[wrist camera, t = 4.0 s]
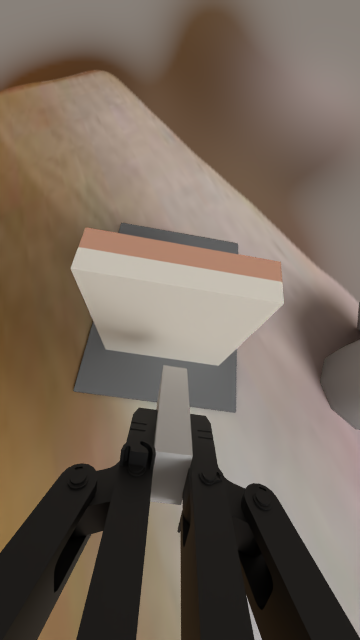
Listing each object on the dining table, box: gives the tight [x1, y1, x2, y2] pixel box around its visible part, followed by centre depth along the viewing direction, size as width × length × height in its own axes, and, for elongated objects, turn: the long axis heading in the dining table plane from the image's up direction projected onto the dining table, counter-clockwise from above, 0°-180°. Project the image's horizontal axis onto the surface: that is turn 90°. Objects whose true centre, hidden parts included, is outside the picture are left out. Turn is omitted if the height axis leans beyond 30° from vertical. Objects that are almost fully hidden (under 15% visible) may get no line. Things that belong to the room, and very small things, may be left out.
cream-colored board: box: [71, 227, 284, 366], centre depth 21 cm, size 3×12×14 cm, turn 84°
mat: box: [73, 223, 238, 413], centre depth 30 cm, size 22×16×1 cm
